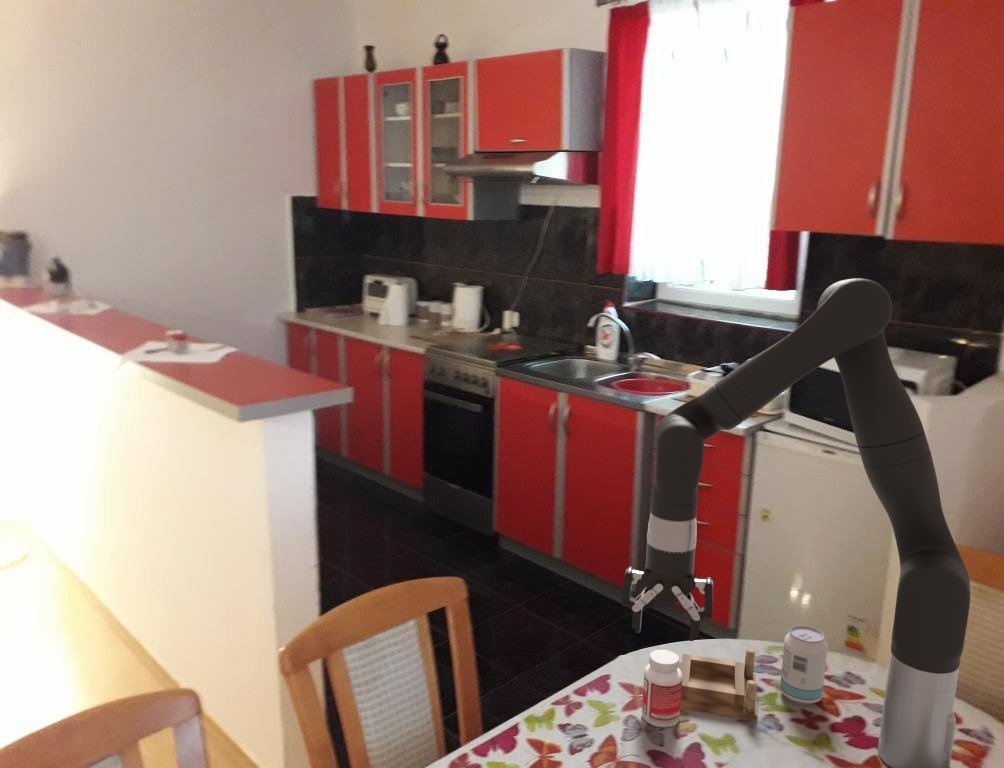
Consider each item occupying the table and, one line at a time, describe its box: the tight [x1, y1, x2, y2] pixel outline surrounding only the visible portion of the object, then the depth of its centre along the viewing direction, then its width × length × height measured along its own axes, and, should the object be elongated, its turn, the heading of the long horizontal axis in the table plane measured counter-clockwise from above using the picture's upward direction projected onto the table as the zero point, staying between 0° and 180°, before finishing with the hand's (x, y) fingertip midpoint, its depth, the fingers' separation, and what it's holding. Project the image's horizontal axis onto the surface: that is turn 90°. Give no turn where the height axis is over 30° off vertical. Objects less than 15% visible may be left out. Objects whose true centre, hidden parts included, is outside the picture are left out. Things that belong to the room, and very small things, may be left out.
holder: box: [678, 648, 758, 722], centre depth 143 cm, size 15×13×6 cm
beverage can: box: [779, 625, 829, 706], centre depth 142 cm, size 7×7×12 cm
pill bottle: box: [641, 649, 682, 728], centre depth 135 cm, size 6×6×11 cm
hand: (664, 634), depth 133 cm, fingers open, 8 cm apart
